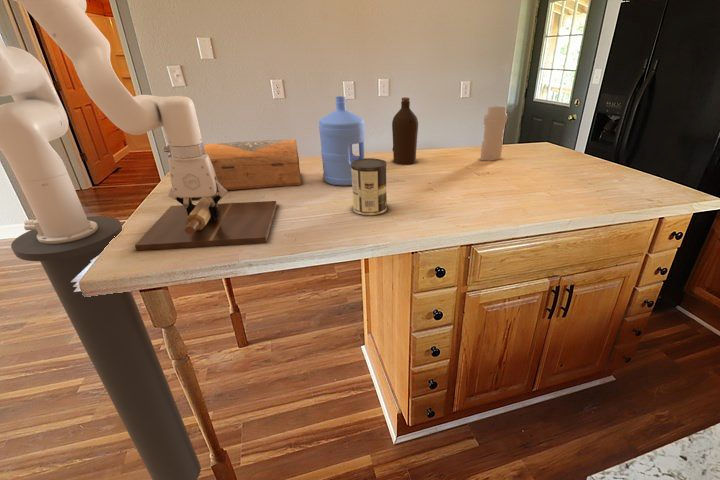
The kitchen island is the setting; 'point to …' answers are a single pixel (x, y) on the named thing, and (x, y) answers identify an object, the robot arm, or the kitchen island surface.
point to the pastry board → (212, 227)
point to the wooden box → (255, 163)
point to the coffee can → (369, 186)
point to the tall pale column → (493, 133)
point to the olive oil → (404, 134)
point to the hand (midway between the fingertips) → (204, 218)
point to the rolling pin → (198, 216)
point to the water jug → (340, 143)
